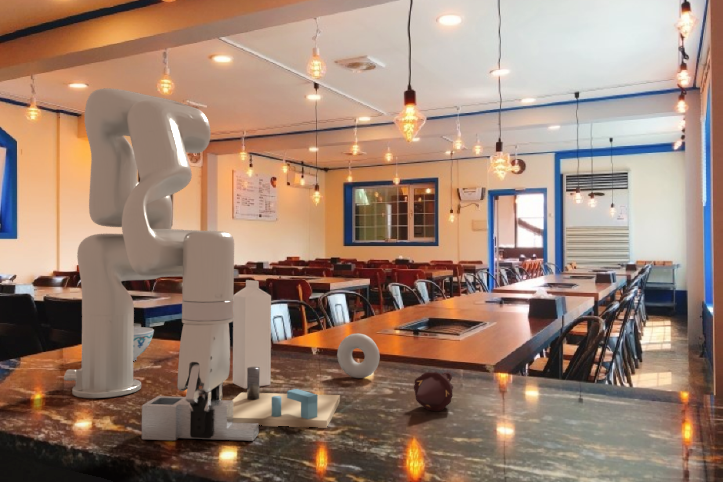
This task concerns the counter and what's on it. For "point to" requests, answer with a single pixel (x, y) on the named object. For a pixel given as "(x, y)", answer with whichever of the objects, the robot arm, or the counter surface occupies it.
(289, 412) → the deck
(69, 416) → the counter surface
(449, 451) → the counter surface
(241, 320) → the milk
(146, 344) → the chinaware
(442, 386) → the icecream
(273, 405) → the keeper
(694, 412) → the counter surface
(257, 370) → the pintle
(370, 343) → the donut
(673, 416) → the counter surface
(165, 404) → the link
